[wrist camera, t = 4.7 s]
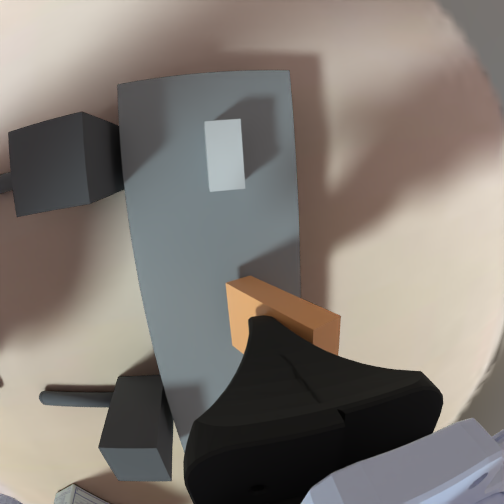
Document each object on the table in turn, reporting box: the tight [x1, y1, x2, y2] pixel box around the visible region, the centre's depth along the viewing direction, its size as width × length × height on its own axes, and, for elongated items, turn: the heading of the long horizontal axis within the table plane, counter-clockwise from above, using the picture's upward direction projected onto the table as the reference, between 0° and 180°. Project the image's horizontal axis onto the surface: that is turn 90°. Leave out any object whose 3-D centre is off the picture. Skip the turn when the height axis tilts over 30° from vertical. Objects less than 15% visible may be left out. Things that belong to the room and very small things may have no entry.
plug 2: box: [39, 375, 174, 481], centre depth 15 cm, size 10×3×6 cm, turn 94°
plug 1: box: [0, 112, 125, 217], centre depth 11 cm, size 10×3×6 cm, turn 94°
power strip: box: [117, 70, 301, 452], centre depth 15 cm, size 7×20×5 cm, turn 4°
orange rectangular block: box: [226, 276, 341, 356], centre depth 12 cm, size 1×3×5 cm, turn 4°
